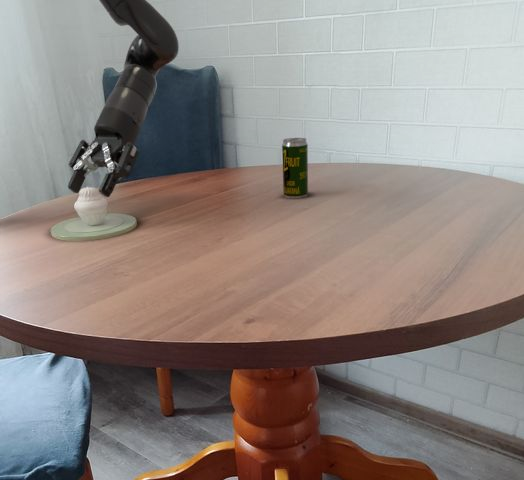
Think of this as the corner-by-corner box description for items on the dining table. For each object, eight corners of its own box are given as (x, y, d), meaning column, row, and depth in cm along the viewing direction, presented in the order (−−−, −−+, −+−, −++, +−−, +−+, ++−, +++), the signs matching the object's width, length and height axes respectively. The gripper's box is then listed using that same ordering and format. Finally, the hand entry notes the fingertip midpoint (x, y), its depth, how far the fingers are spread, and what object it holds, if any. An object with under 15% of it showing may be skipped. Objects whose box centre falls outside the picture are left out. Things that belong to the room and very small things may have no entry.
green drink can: (288, 193, 122) (287, 137, 117) (311, 194, 120) (311, 137, 115) (279, 199, 118) (278, 141, 112) (303, 200, 116) (302, 141, 110)
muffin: (112, 218, 107) (105, 181, 103) (109, 226, 101) (102, 188, 98) (80, 220, 106) (72, 184, 102) (75, 229, 101) (67, 191, 97)
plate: (35, 242, 98) (33, 236, 98) (76, 218, 112) (74, 213, 112) (117, 242, 96) (116, 236, 95) (148, 218, 109) (148, 212, 109)
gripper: (83, 105, 104) (48, 178, 101) (136, 105, 97) (100, 183, 94) (108, 131, 110) (76, 200, 107) (160, 132, 103) (127, 207, 100)
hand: (87, 192), depth 100 cm, fingers open, 8 cm apart
